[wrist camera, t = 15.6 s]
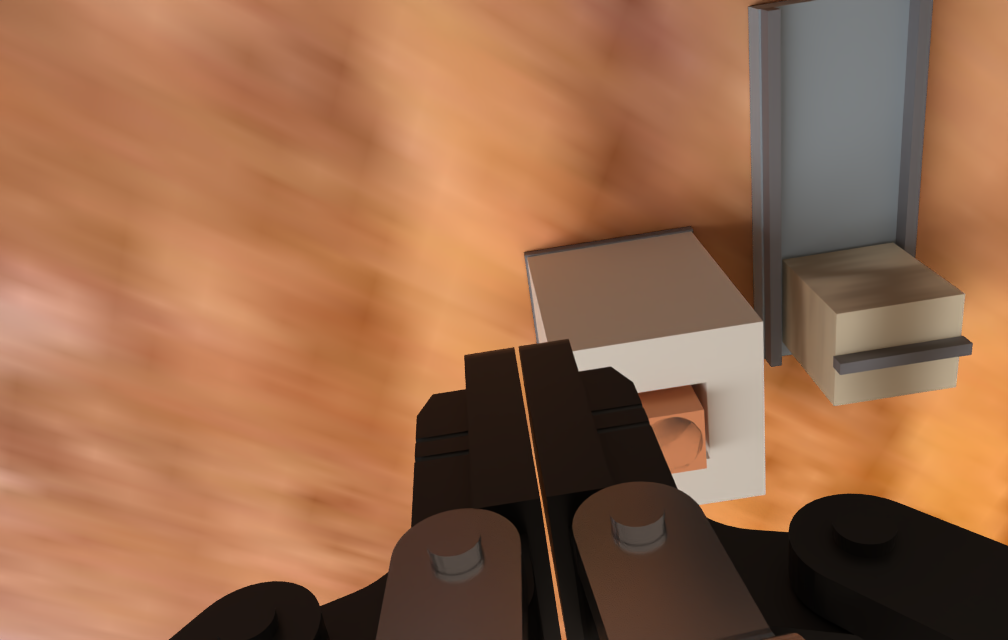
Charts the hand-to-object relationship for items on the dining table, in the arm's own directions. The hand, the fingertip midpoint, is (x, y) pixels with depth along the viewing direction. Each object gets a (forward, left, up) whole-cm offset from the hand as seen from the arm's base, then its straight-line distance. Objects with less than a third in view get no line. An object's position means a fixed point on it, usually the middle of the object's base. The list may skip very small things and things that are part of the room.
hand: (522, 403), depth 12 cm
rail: (+18, -9, -33) cm, 39 cm away
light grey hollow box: (+6, -15, -33) cm, 37 cm away
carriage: (+18, -15, -31) cm, 39 cm away
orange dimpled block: (+6, -15, -29) cm, 33 cm away
